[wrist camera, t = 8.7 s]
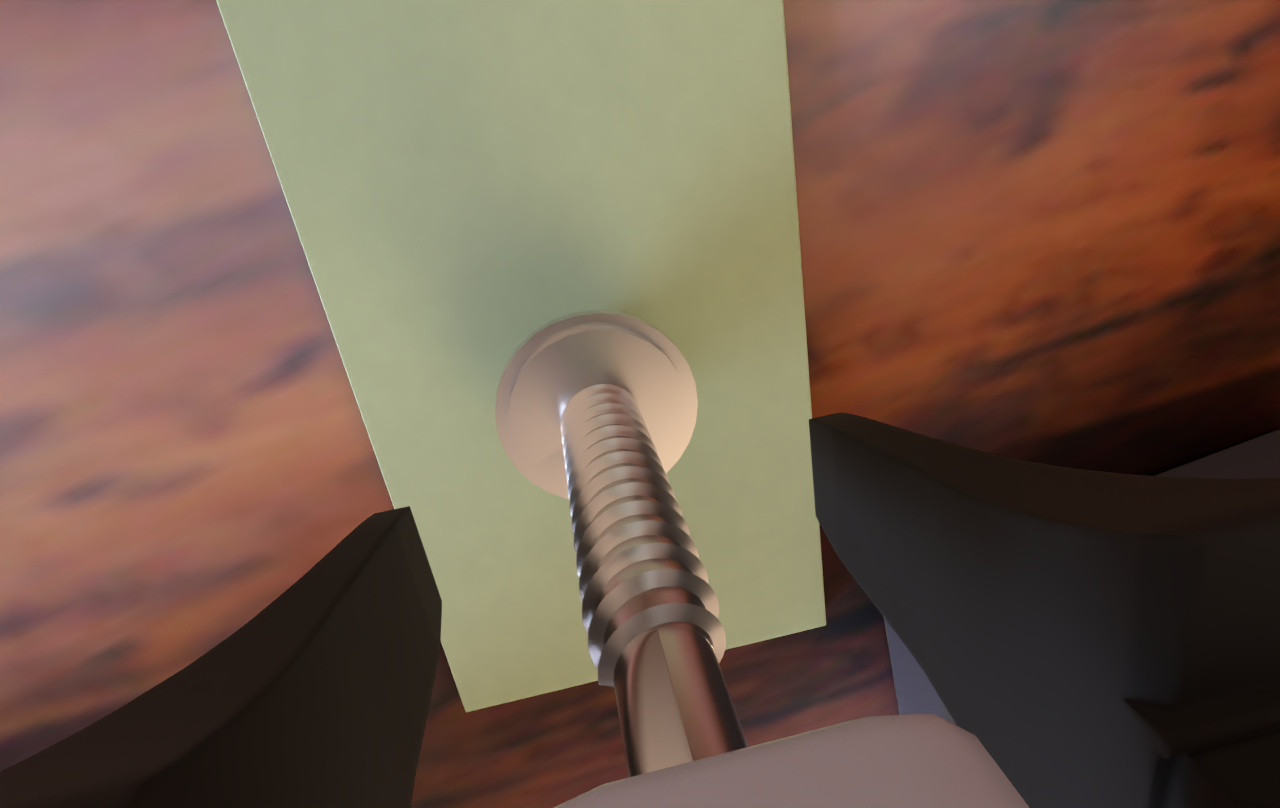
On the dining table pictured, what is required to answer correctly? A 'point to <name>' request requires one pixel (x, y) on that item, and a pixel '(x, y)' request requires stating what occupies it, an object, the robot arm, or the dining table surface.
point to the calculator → (1246, 460)
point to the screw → (626, 522)
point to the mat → (551, 277)
